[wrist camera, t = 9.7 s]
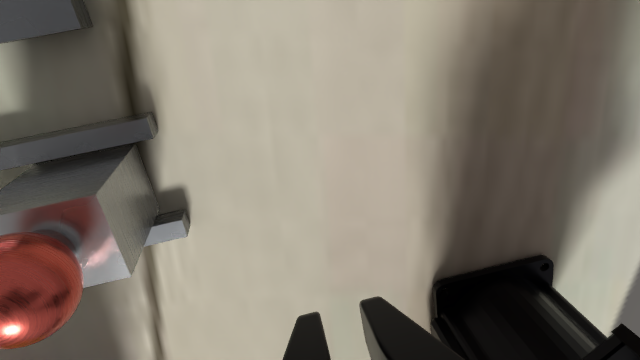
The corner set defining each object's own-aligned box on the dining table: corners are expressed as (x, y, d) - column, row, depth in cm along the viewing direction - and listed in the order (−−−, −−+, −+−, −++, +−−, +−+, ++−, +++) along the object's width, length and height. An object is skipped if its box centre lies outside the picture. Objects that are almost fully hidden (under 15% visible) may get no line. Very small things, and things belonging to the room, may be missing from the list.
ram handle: (135, 143, 17) (47, 255, 10) (159, 208, 18) (99, 353, 11) (33, 164, 17) (-141, 298, 9) (64, 229, 18) (-67, 394, 10)
